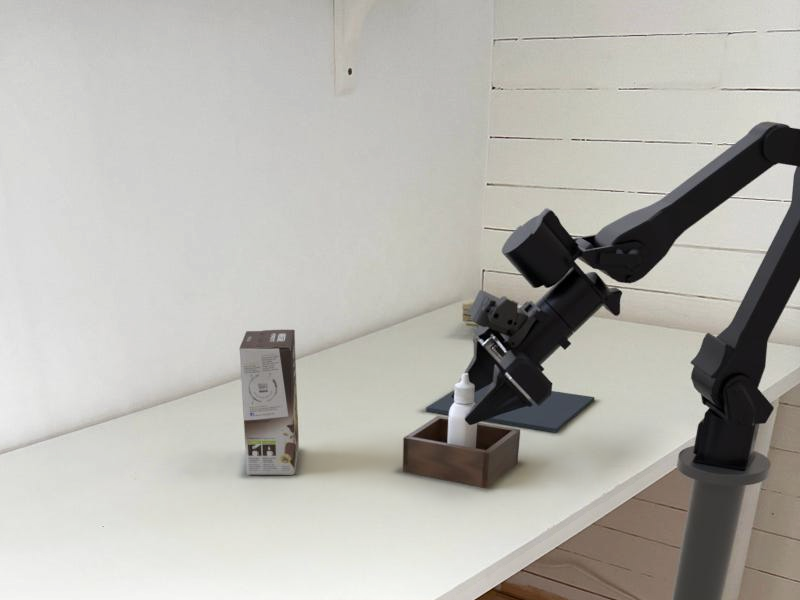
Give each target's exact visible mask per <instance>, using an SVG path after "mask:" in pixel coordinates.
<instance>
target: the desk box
mask: <svg viewBox="0 0 800 600" xmlns="http://www.w3.org/2000/svg"><path fill="white" fill-rule="evenodd" d="M448 417H449V416H448ZM448 417H447V416H442V415H436V416H435V417H433V418H432V419H430V420H429V421H427V422H425V423H424V424H422V425H420V426H419V427H418V428H416V429H415V430H413V431H411V432H410V433H408V434H407V435H405V436H404V437H403V439H402V442H403V443H402V472H403V473H406V474H407V473H409V474H413V475H418V476H422V477H428V478H433V479H438V480H442V481H443V480H444V481H448V482H453V483H458V484H463V485H468V486H473V487H479V488H482V489H488V488H490V487H491V486H492V485H493V484H494V483H496V482H497V481H498V480H499V479H500V478H502V477H503V476H504V475H505V474H506V473H507V472H509V471H510V470H511V469H513V467H515V466H516V465H517V464H518V461H519V451H520V441H521V440H520V439H521V429H520V428H515V427H514V428H513V427H508V426H501V425H495V424H490V423H484V422H478V423H477V435H476V448H471V447H465V446H460V445H454V444H449V443H447V438H448Z"/></svg>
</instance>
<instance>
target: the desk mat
mask: <svg viewBox="0 0 800 600" xmlns="http://www.w3.org/2000/svg"><path fill="white" fill-rule="evenodd" d="M491 384H492V383H491ZM491 384H489V385H487V386H486V387H484V388H482V389H480V390H478V391H476V392H475V393H474V401H473V402H474V403H475V404H476V403H477V401H478V400H479V399H480V398H481V396H482V395H483V394H484V393H485V391H486V390H487V389H488V388H489V387H490V385H491ZM453 391H454V390H452V391H450V392H449V393H447V394H445V395H444V396H442V397H441V398H439V399H437V400H436V401H434V402H432V403H430V404H429V405H428V406H425V407H426V408H425V411H426V412H430V413H434V414H441V415H446V416H449V410H450V408H451V406H452V404H453V403H454V402H455V401H454V399H453V398H452V397H451V394H452V392H453ZM530 401H531V403H532V404H533V405H532V406H531V407H528V406H526V407H523V408H520V409H516V410H513V411H510V412H507V413H504V414H501V415H498V416H495V417H492V418H489V419H487V420H484V421H483V422H488V423H489V422H490V423H495V424H501V425H507V426H514V427H520V428H525V429H531V430H532V429H533V430H537V431H543V432H549V433H557V432H559V431H560V430H561V429H562V428H564V427H565V426H566V425H567V424H568V423H569V422H571V421H572V420H573V419H574V418H575V417H577V416H578V415H579V414H580V413H582V412H583V411H584V410H585V409H586V408H587V407H589V406H590V405H591V404H592V403H594V402H595V396H591V395H590V396H589V395H583V394H575V393H570V392H562V391H555V390H552V393H551V395H550V396H549V397H548V398H547V399H546V400H545V401H544V402H543V403H542V404H541V405H540V406H538V405H537V404H536V403H535V402H534V401H533V400H532V398H531V399H530Z"/></svg>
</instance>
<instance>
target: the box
mask: <svg viewBox="0 0 800 600" xmlns="http://www.w3.org/2000/svg"><path fill="white" fill-rule="evenodd" d="M474 301H475V300H471V301H468V302H464V303H462V307H461V308H462V322H465V326H468V327H479V326H480V325H478V324H476V323H475V322H473V321H472V317H471V316H468V313H469V311H470V309H471V307H472V305H473V303H474ZM514 301H515V302H516V303H517V304H518V305H519V301H516V300H514Z"/></svg>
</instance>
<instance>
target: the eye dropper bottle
mask: <svg viewBox="0 0 800 600" xmlns="http://www.w3.org/2000/svg"><path fill="white" fill-rule="evenodd" d="M461 377H462V378H461ZM461 377H460V379H461V381H460V380H459V381H460V382H459V381H458V382H459V383H458V382H457V383H455V384H454V389H455V390H454V389H453V391H454V401H455V402H454V403H453V404H452V406H451V408H450V410H449V415H448V438H447V443H449V444H454V445H460V446H465V447H471V448H476V435H477V423H476V424H473V425H469V424H468V423H467V422H466V421H465V417H466V415H467V414H468V413H469V411H470V410H471V409H472V407H473V406H474V405H475V403H474V402H473V401H474V389H475V385H474V384H472V383H470V382H469V376H468V373H464V372H463V373H462V374H461Z"/></svg>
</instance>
